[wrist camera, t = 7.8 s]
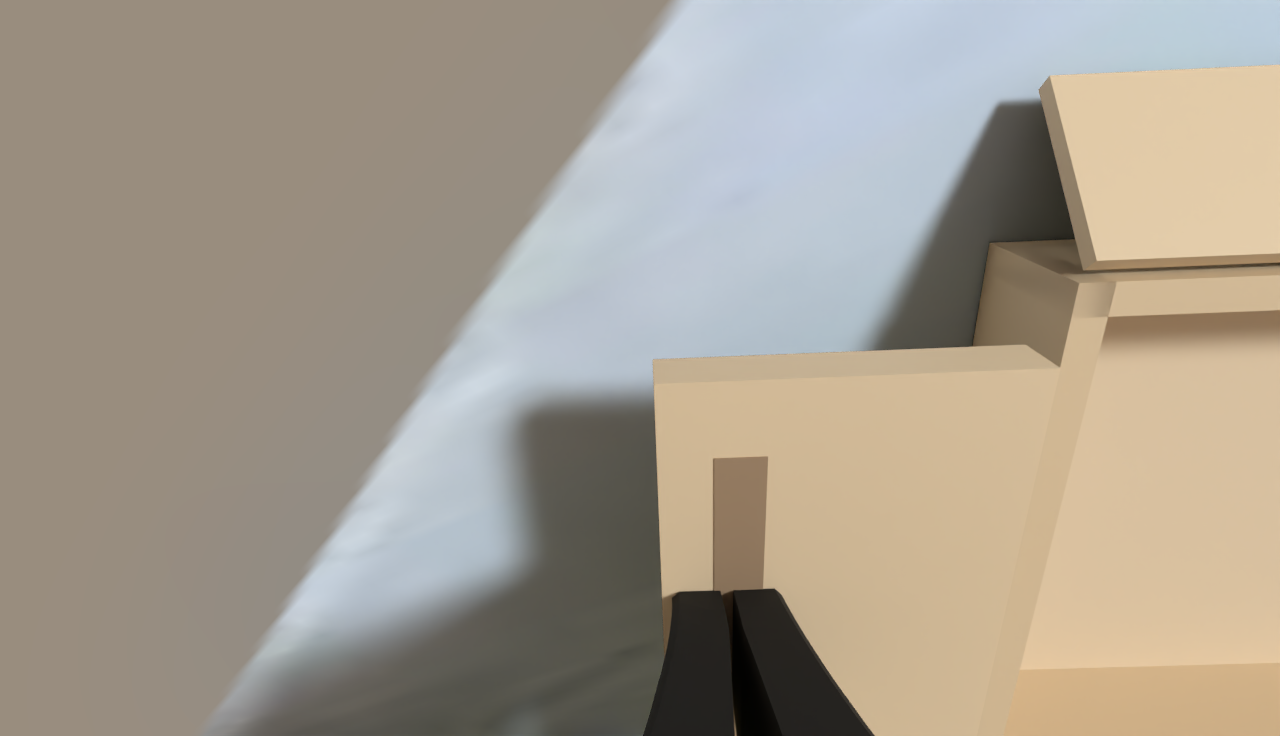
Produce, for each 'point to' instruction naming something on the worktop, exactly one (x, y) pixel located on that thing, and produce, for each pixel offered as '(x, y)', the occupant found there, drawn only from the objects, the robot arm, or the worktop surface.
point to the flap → (860, 508)
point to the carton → (1150, 415)
